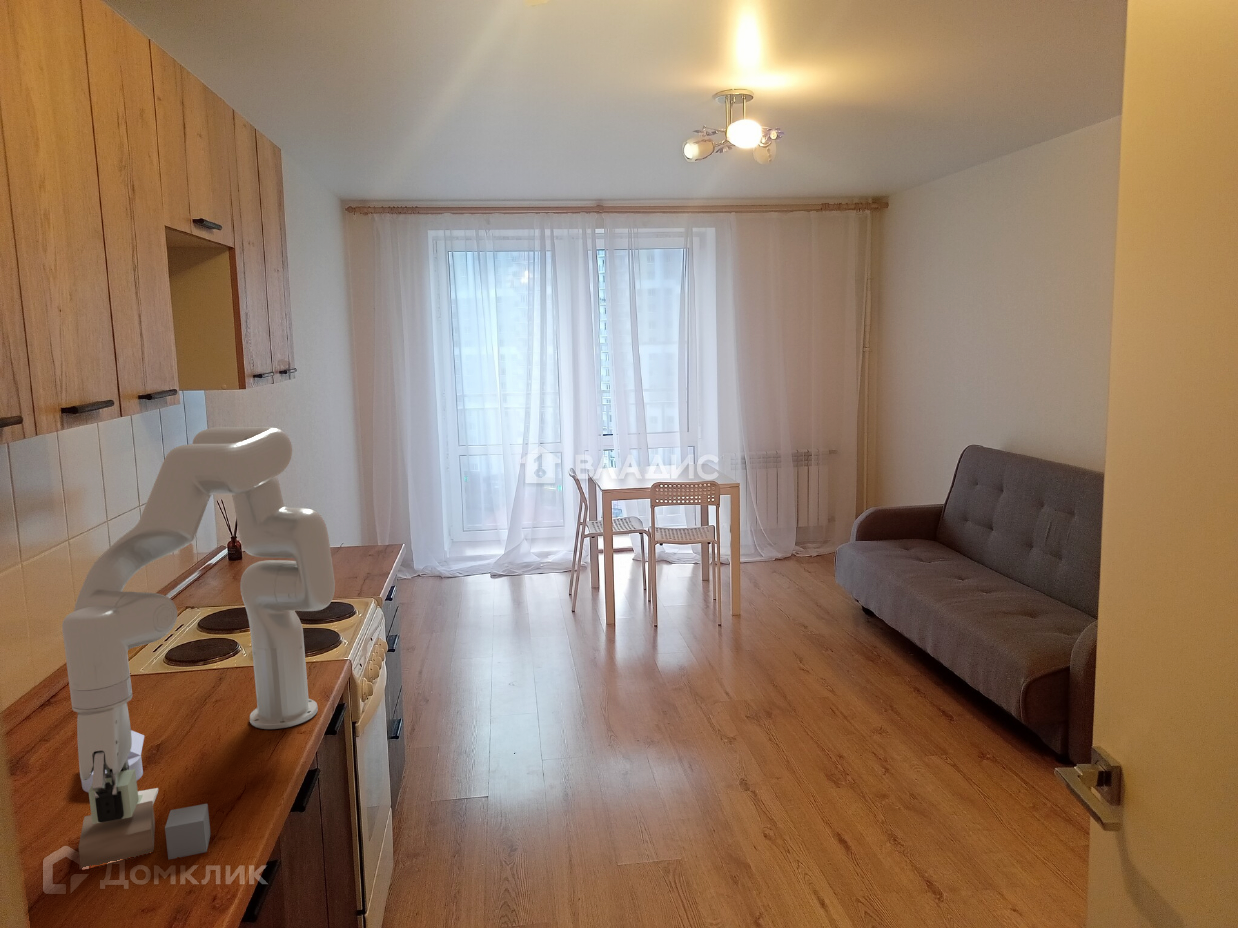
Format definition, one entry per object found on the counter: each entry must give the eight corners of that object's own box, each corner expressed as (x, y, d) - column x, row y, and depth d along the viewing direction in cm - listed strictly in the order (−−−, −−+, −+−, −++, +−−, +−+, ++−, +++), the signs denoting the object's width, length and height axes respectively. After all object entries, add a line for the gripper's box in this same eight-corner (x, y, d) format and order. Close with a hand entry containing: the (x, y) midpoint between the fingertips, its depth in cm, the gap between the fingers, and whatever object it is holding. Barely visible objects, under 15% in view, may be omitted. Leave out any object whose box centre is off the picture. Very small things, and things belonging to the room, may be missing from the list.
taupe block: (87, 840, 129) (84, 816, 129) (155, 824, 133) (152, 800, 133) (81, 872, 121) (78, 846, 121) (153, 854, 125) (150, 828, 125)
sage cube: (101, 806, 128) (97, 774, 127) (138, 799, 130) (135, 768, 129) (92, 823, 123) (88, 791, 123) (131, 816, 125) (127, 784, 124)
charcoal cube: (173, 841, 128) (170, 810, 127) (210, 834, 130) (207, 803, 129) (168, 859, 124) (164, 827, 123) (206, 852, 125) (203, 820, 124)
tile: (110, 799, 140) (110, 794, 140) (158, 791, 143) (157, 786, 143) (100, 821, 134) (99, 816, 134) (150, 812, 136) (149, 807, 136)
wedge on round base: (89, 764, 153) (78, 798, 141) (84, 728, 152) (73, 759, 140) (146, 752, 157) (140, 785, 145) (142, 717, 156) (136, 747, 144)
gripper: (87, 675, 131) (101, 786, 133) (53, 721, 115) (70, 846, 117) (142, 667, 133) (155, 777, 136) (117, 711, 117) (131, 835, 120)
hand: (115, 808), depth 126 cm, fingers closed on sage cube, 4 cm apart
